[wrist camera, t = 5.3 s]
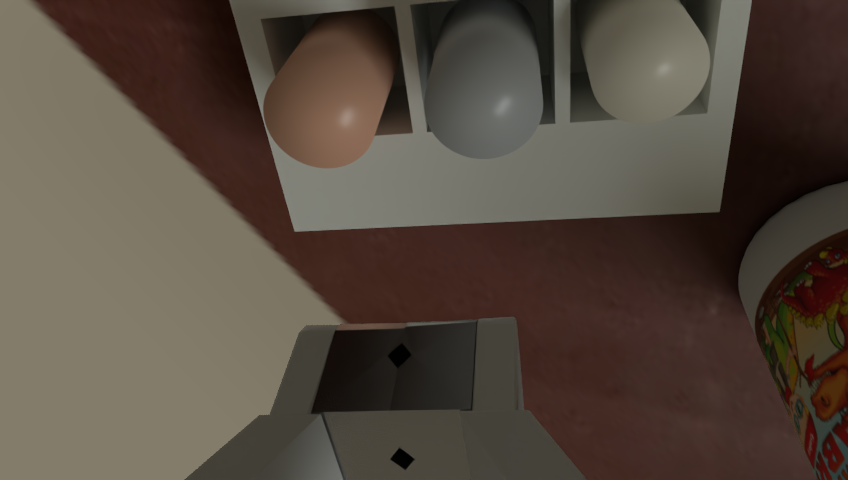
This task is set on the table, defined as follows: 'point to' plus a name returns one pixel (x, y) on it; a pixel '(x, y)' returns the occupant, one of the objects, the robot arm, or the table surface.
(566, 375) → the table surface
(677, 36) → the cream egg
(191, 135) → the table surface
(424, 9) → the white compartment tray
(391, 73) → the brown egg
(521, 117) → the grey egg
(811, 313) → the milk bottle
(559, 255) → the table surface
